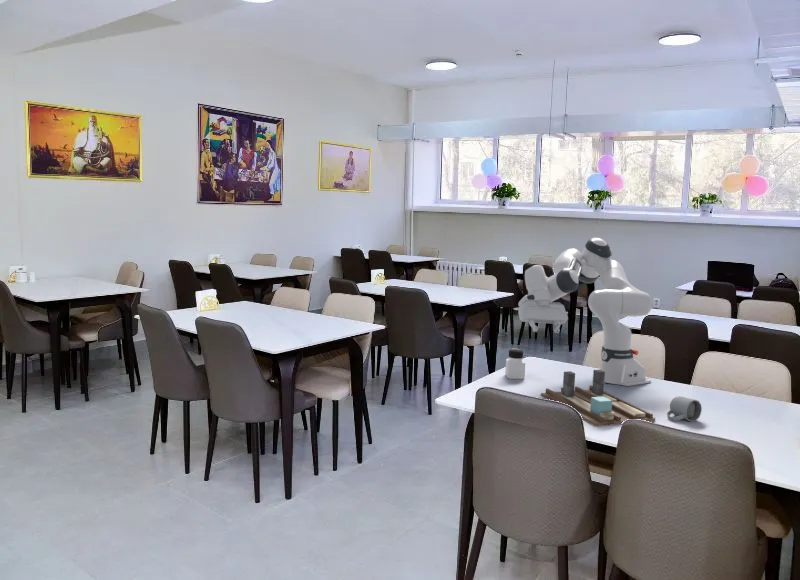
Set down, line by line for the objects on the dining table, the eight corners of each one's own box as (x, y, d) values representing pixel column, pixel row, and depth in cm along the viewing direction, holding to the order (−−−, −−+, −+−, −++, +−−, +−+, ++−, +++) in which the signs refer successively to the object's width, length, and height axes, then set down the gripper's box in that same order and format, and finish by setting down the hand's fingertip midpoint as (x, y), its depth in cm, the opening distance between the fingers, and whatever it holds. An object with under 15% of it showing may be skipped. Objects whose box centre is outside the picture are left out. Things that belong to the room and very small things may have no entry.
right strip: (571, 397, 244) (573, 371, 243) (613, 419, 220) (615, 390, 219) (559, 398, 243) (561, 371, 242) (601, 420, 218) (603, 391, 217)
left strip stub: (600, 395, 248) (602, 369, 247) (616, 402, 239) (618, 376, 238) (589, 395, 247) (591, 370, 245) (605, 403, 237) (607, 376, 236)
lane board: (593, 391, 257) (594, 385, 256) (655, 421, 223) (655, 413, 223) (540, 395, 249) (541, 388, 249) (595, 426, 216) (596, 418, 215)
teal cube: (602, 410, 226) (603, 396, 225) (611, 414, 221) (612, 400, 220) (590, 411, 224) (591, 397, 224) (598, 415, 220) (599, 401, 219)
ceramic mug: (682, 413, 232) (683, 392, 231) (701, 420, 225) (703, 399, 224) (660, 417, 228) (662, 396, 227) (679, 424, 221) (681, 402, 220)
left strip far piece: (620, 404, 237) (620, 401, 237) (645, 416, 224) (645, 413, 224) (608, 405, 236) (608, 402, 235) (633, 417, 222) (633, 414, 222)
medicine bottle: (524, 379, 272) (525, 351, 271) (507, 378, 272) (509, 351, 271) (521, 375, 279) (523, 347, 278) (505, 374, 279) (506, 347, 278)
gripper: (559, 306, 266) (566, 336, 260) (514, 303, 261) (520, 334, 254) (566, 299, 261) (573, 329, 254) (521, 295, 256) (527, 326, 249)
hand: (546, 331), depth 254 cm, fingers open, 8 cm apart
